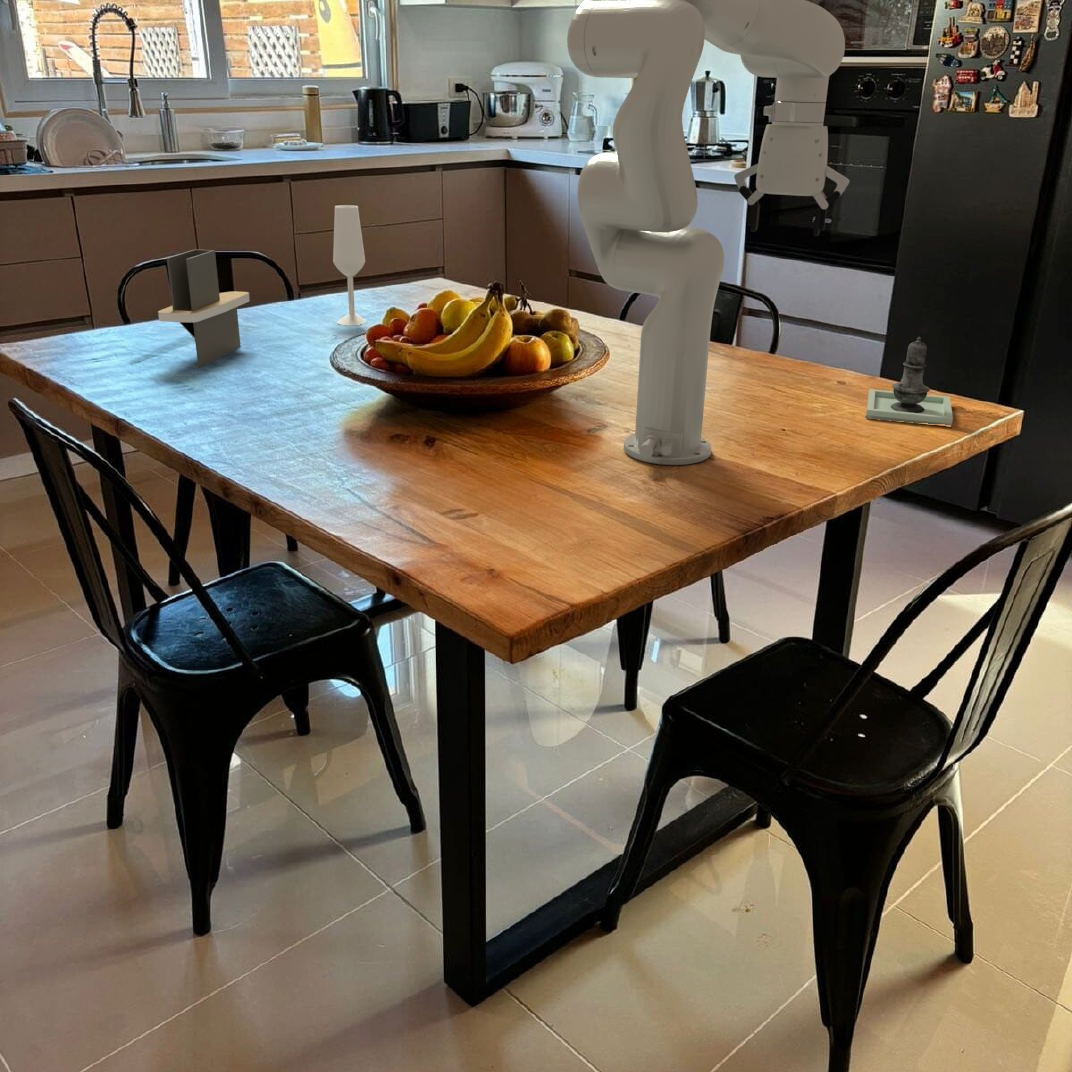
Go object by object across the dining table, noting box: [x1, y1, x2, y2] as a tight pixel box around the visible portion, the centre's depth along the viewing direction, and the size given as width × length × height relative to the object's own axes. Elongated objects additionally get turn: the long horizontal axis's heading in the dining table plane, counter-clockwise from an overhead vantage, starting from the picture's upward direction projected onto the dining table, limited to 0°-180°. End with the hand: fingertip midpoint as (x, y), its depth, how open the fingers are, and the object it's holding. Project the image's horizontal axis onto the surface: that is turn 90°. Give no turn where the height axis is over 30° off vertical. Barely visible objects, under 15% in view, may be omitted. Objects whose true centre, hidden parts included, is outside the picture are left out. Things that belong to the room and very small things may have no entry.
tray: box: [865, 388, 954, 425], centre depth 173 cm, size 13×13×2 cm
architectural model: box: [157, 249, 250, 369], centre depth 194 cm, size 38×25×20 cm, turn 170°
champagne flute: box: [332, 204, 367, 326], centre depth 222 cm, size 7×7×24 cm
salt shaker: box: [891, 336, 930, 413], centre depth 170 cm, size 6×6×12 cm
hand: (784, 232), depth 165 cm, fingers open, 9 cm apart
